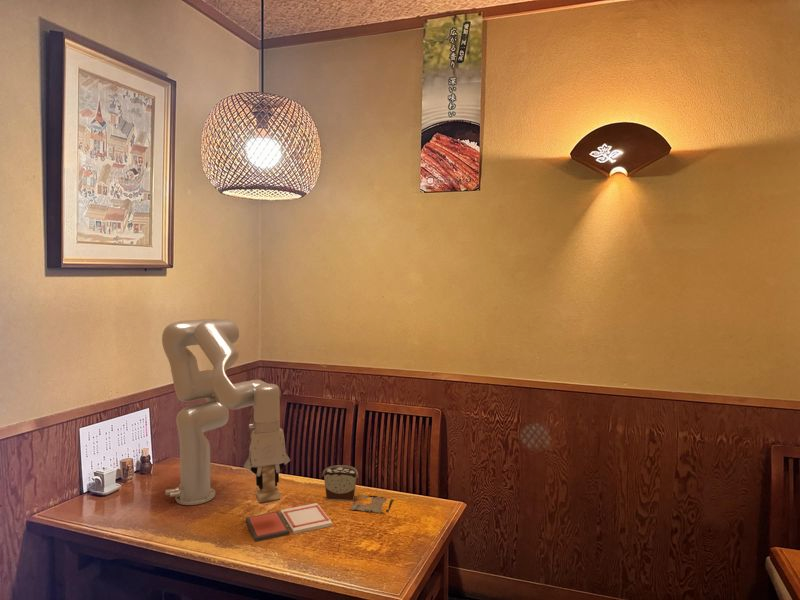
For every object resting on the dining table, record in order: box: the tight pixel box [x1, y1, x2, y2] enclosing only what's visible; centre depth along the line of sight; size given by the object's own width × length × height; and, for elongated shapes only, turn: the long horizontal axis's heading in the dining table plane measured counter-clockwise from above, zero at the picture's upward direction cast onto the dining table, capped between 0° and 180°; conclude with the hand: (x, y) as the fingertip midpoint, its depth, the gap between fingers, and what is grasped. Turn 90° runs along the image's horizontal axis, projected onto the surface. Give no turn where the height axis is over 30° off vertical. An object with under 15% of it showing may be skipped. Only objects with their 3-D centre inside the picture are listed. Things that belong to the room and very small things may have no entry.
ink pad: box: [245, 510, 291, 543], centre depth 162 cm, size 10×14×1 cm
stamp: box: [255, 465, 281, 505], centre depth 161 cm, size 6×6×11 cm
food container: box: [321, 464, 359, 502], centre depth 184 cm, size 12×6×10 cm, turn 84°
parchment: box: [350, 494, 393, 515], centre depth 179 cm, size 12×13×1 cm
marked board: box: [280, 502, 333, 535], centre depth 167 cm, size 12×15×1 cm
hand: (267, 485), depth 161 cm, fingers closed on stamp, 3 cm apart
